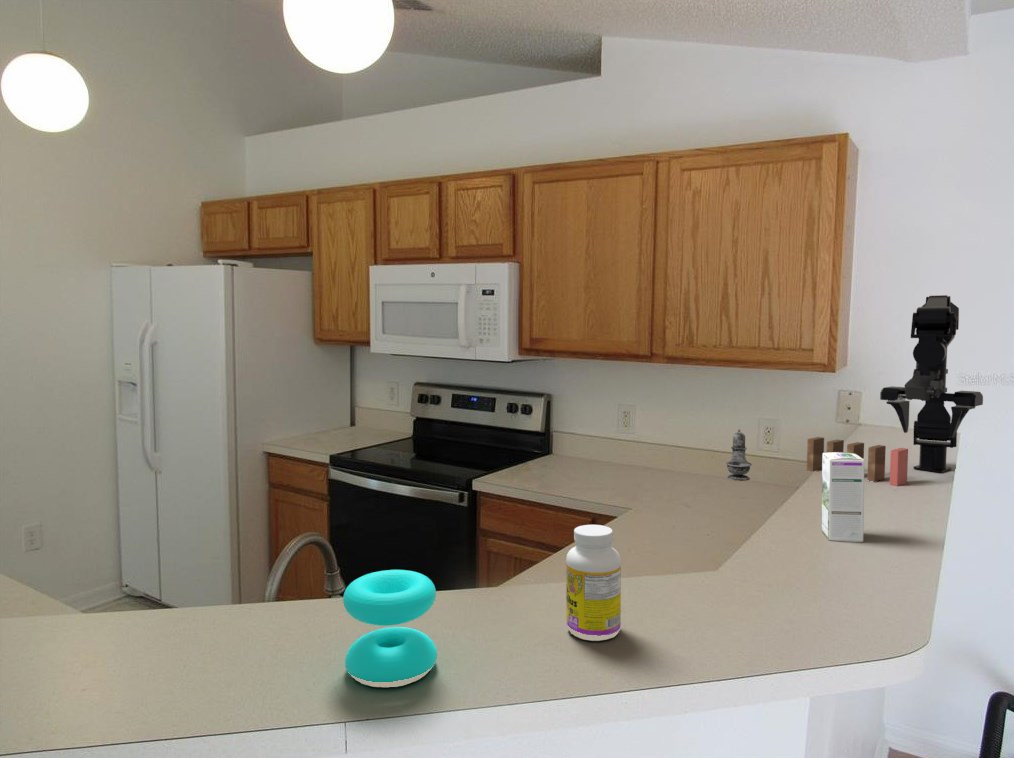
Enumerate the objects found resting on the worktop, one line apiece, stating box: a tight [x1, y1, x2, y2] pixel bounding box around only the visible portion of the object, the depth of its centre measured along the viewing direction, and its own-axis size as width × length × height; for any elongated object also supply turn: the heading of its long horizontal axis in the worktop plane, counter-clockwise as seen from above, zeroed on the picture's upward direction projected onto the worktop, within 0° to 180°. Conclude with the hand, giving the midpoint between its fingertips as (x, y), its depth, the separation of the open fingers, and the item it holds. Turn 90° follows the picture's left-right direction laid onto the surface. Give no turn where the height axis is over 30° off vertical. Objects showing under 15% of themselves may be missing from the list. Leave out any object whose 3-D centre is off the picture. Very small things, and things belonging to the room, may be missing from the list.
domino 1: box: [806, 436, 825, 472], centre depth 175 cm, size 2×5×8 cm, turn 127°
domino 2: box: [826, 439, 845, 453], centre depth 171 cm, size 2×5×8 cm, turn 127°
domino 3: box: [846, 441, 865, 460], centre depth 167 cm, size 2×5×8 cm, turn 127°
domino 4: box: [867, 444, 887, 483], centre depth 163 cm, size 2×5×8 cm, turn 127°
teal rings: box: [342, 569, 438, 682], centre depth 76 cm, size 10×10×10 cm
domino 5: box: [889, 447, 909, 487], centre depth 159 cm, size 2×5×8 cm, turn 127°
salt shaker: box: [725, 428, 752, 482], centre depth 166 cm, size 6×6×12 cm
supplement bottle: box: [565, 524, 622, 636], centre depth 85 cm, size 7×7×13 cm
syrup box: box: [820, 451, 865, 543], centre depth 121 cm, size 6×6×14 cm
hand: (928, 434), depth 153 cm, fingers open, 9 cm apart
